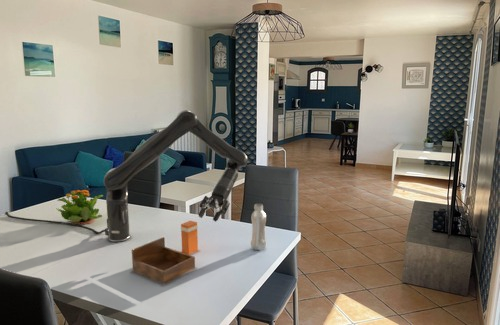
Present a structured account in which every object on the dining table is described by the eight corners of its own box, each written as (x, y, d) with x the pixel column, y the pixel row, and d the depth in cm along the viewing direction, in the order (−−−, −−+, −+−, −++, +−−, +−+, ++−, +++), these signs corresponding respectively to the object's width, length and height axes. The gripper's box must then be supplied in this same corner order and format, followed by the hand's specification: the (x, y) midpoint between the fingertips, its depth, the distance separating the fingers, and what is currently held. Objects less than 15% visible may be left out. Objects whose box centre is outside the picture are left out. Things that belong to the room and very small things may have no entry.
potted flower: (117, 220, 202) (115, 188, 199) (77, 233, 182) (74, 199, 179) (89, 212, 215) (86, 182, 212) (48, 224, 196) (45, 192, 193)
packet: (181, 253, 160) (180, 224, 158) (191, 248, 165) (190, 220, 162) (188, 255, 158) (187, 226, 155) (198, 251, 162) (197, 222, 160)
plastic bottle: (250, 246, 167) (250, 202, 164) (265, 245, 168) (265, 202, 164) (251, 252, 161) (251, 207, 158) (267, 251, 162) (267, 206, 158)
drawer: (132, 271, 143) (131, 249, 142) (164, 257, 156) (163, 237, 154) (164, 285, 133) (163, 261, 132) (195, 268, 146) (194, 247, 144)
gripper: (207, 182, 177) (191, 211, 170) (231, 186, 169) (215, 217, 161) (215, 190, 182) (199, 219, 175) (238, 195, 174) (223, 226, 167)
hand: (207, 218), depth 168 cm, fingers open, 8 cm apart
